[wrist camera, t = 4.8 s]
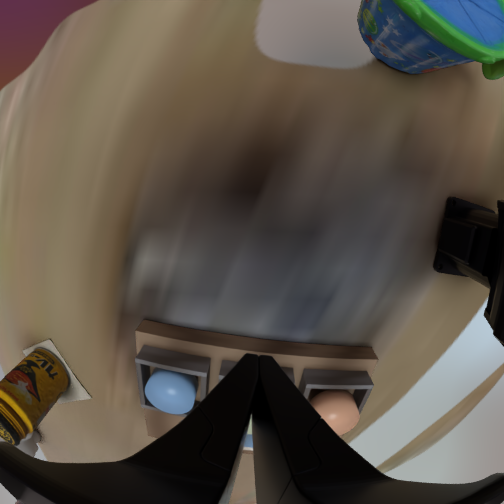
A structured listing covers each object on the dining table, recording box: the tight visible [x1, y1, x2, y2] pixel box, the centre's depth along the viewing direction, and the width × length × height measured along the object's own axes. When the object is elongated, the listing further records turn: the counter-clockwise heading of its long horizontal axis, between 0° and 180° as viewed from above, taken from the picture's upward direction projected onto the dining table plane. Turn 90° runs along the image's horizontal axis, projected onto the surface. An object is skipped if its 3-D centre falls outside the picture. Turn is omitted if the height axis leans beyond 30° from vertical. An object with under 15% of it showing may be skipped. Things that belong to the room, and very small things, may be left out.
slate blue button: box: [145, 367, 198, 414], centre depth 20 cm, size 4×4×2 cm
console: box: [135, 320, 379, 454], centre depth 23 cm, size 20×14×4 cm
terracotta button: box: [310, 389, 360, 436], centre depth 20 cm, size 4×4×2 cm
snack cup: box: [357, 0, 504, 80], centre depth 11 cm, size 16×10×10 cm
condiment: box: [0, 339, 92, 446], centre depth 20 cm, size 7×8×12 cm
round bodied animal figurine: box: [0, 430, 41, 457], centre depth 26 cm, size 7×12×8 cm, turn 143°
